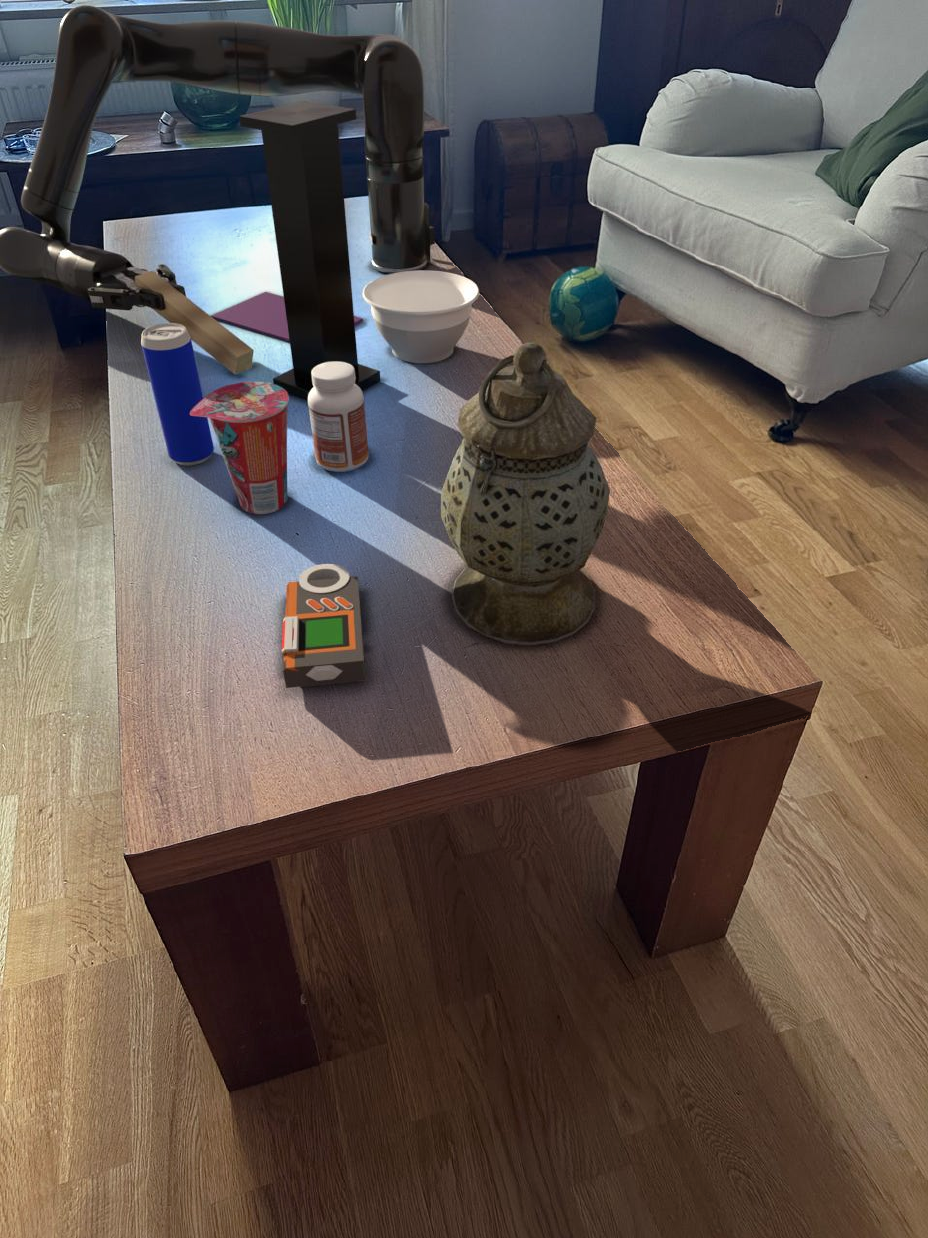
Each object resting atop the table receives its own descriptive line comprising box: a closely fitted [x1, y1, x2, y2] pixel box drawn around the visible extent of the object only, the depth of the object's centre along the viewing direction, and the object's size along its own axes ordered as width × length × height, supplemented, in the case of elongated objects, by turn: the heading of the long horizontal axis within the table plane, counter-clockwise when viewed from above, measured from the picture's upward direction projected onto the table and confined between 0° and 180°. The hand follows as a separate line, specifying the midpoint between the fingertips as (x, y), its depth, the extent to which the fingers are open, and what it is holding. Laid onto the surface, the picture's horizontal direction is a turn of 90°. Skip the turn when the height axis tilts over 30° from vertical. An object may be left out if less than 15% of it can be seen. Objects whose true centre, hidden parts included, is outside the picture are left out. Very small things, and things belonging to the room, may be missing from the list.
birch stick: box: [135, 270, 255, 376], centre depth 121 cm, size 20×3×3 cm, turn 54°
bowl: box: [362, 269, 480, 364], centre depth 123 cm, size 16×16×8 cm
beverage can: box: [140, 322, 215, 466], centre depth 98 cm, size 5×5×15 cm
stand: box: [238, 100, 381, 402], centre depth 107 cm, size 10×10×32 cm
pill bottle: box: [307, 362, 370, 473], centre depth 99 cm, size 6×6×11 cm
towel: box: [210, 291, 364, 343], centre depth 134 cm, size 12×20×1 cm, turn 56°
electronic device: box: [281, 563, 367, 689], centre depth 78 cm, size 7×3×15 cm
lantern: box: [440, 341, 611, 646], centre depth 75 cm, size 14×14×25 cm
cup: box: [190, 381, 290, 515], centre depth 92 cm, size 9×8×12 cm
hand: (172, 298), depth 121 cm, fingers closed on birch stick, 3 cm apart
